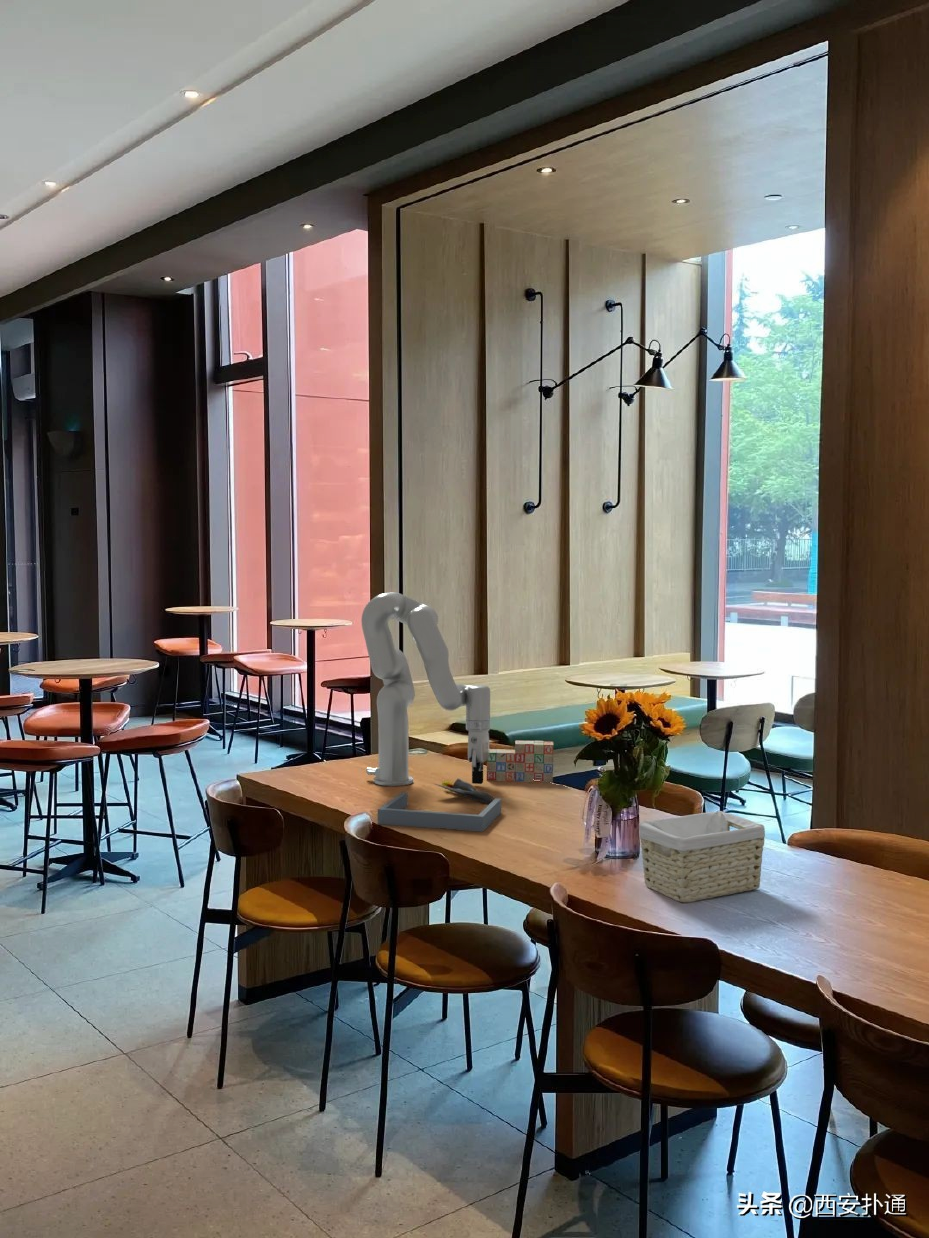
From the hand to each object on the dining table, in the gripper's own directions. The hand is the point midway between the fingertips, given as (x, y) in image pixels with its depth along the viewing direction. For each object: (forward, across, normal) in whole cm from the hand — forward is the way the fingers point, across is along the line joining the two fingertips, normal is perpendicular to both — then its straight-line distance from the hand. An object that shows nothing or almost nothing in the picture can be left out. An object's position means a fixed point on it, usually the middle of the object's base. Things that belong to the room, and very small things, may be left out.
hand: (477, 783), depth 343 cm
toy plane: (+2, -16, -1) cm, 16 cm away
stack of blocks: (+1, +14, -11) cm, 17 cm away
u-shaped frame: (+1, -42, 0) cm, 42 cm away
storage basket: (+1, -86, -72) cm, 112 cm away
